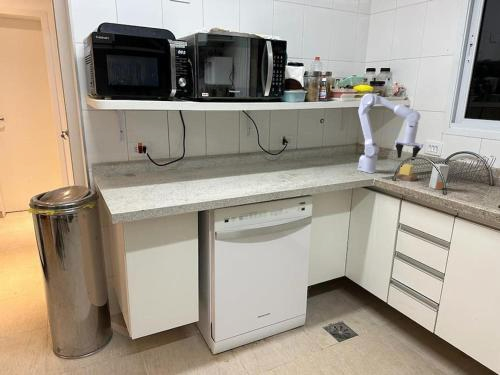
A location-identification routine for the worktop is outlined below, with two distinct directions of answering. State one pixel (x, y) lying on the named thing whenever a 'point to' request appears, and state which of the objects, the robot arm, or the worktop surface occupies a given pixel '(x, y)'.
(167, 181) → the worktop surface
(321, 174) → the worktop surface
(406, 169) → the block
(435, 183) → the skincare box
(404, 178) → the trivet
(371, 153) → the robot arm
